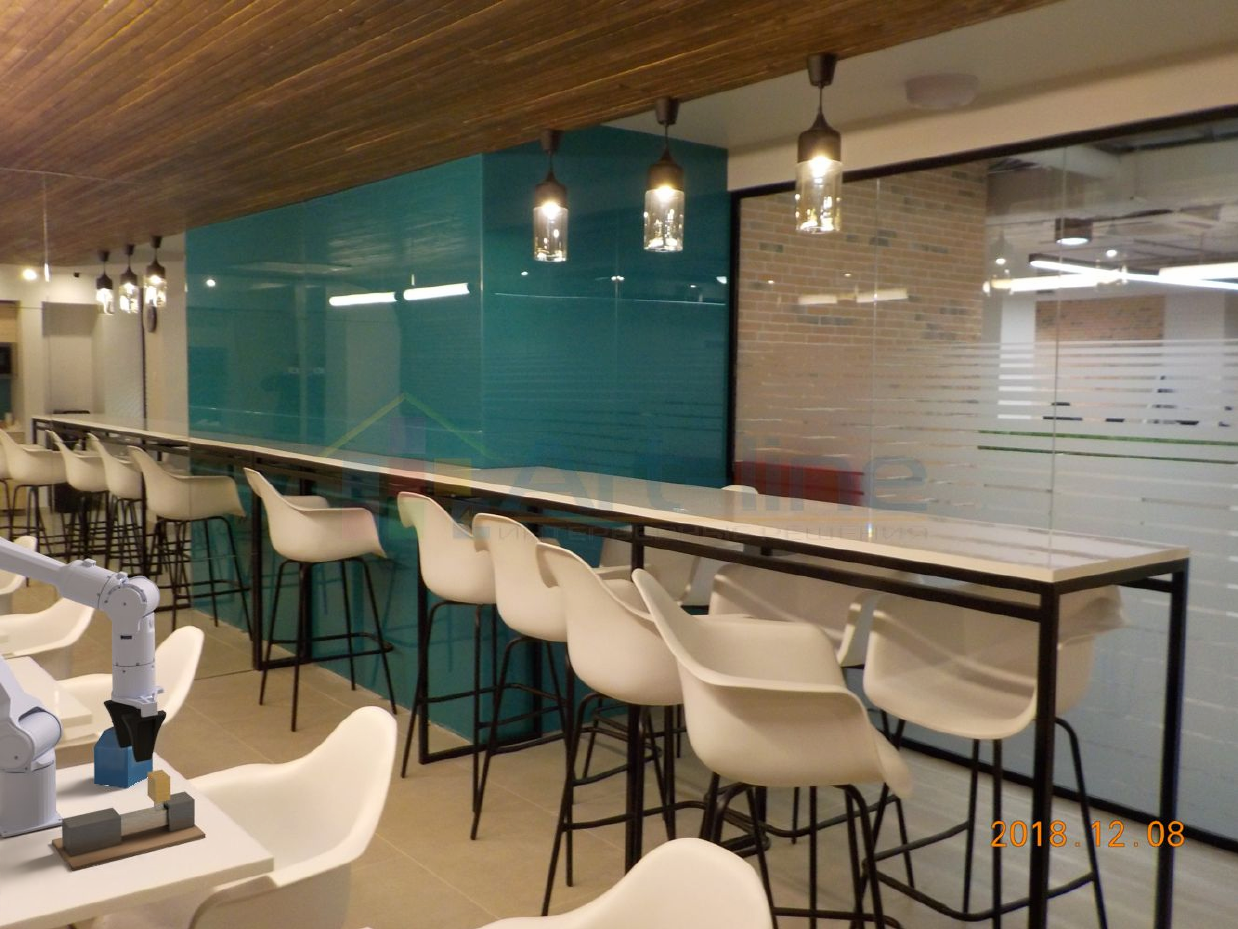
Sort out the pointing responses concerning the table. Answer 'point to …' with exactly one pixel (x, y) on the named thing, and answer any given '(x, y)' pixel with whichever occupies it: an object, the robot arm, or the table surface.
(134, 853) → the walnut board
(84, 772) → the table surface
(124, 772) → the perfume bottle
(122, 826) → the pale bar
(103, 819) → the sleeve and socket
